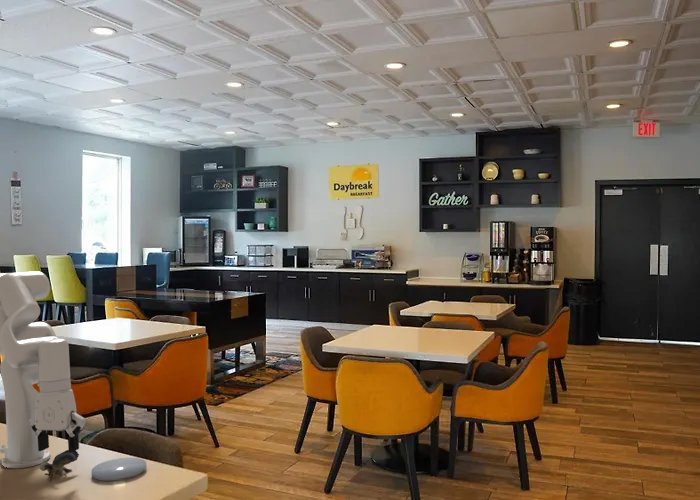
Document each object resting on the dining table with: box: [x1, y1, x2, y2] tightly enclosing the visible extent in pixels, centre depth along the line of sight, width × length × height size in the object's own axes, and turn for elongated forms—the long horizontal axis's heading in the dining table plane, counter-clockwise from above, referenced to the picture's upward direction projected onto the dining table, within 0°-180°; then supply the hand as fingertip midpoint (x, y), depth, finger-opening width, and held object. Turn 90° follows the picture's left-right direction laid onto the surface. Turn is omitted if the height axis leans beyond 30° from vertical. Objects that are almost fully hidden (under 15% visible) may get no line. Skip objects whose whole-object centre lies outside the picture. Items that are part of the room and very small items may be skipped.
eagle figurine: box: [38, 449, 80, 483], centre depth 168 cm, size 8×7×9 cm
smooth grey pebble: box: [90, 457, 147, 481], centre depth 169 cm, size 14×14×2 cm
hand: (58, 450), depth 165 cm, fingers open, 9 cm apart
